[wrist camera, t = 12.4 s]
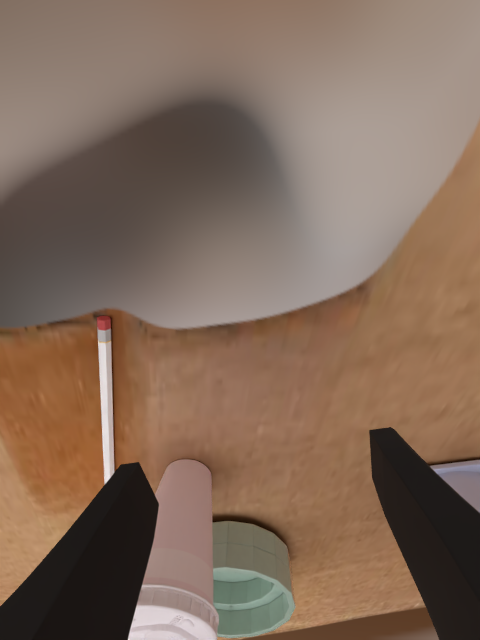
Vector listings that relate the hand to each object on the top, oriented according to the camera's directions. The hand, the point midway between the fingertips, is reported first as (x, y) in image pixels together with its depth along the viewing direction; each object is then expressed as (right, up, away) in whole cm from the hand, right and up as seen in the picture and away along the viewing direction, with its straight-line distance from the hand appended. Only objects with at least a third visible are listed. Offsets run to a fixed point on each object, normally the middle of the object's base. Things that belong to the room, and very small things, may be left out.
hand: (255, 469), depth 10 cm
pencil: (-10, -3, +14) cm, 17 cm away
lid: (-1, -17, +19) cm, 26 cm away
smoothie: (-5, -7, +15) cm, 18 cm away
